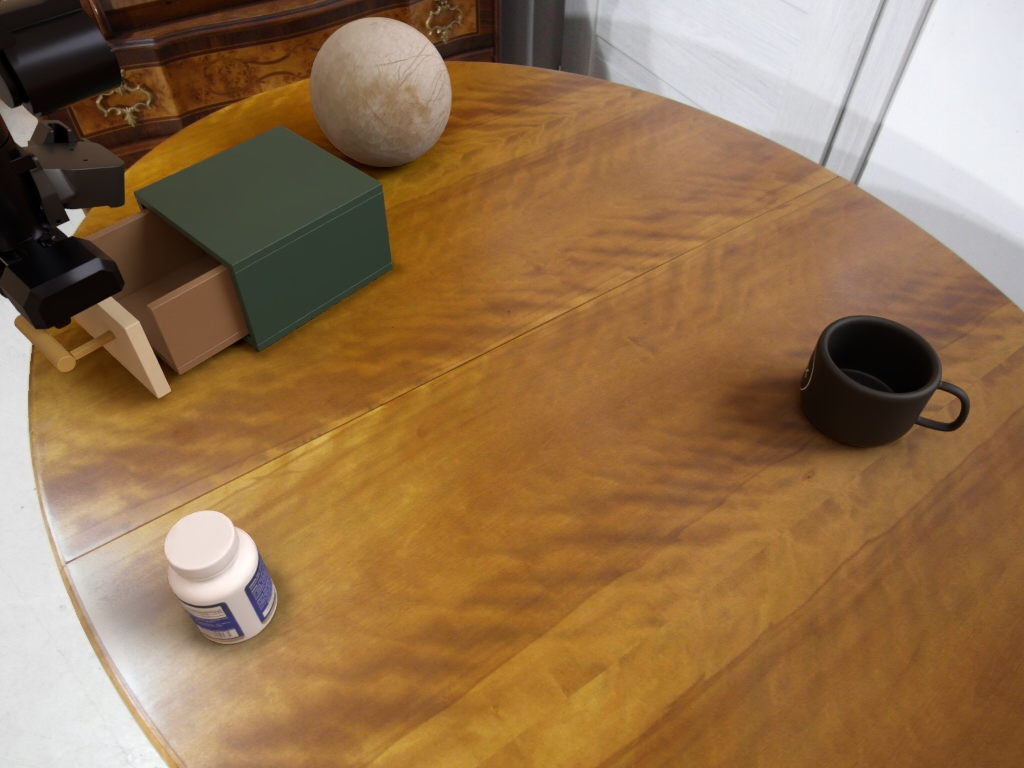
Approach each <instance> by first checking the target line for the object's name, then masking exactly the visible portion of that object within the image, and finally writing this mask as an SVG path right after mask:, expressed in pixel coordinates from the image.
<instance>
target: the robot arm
mask: <svg viewBox="0 0 1024 768" xmlns="http://www.w3.org/2000/svg"><path fill="white" fill-rule="evenodd" d="M122 77H123V76H122V70H121V67H120V63H119V61H118V58H117V55H116V53H115V50H114V49H113V47H112V46H110V45H109V44H108V43H107V40H106V38H105V37H104V35H103V33H102V32H101V30H100V28H99V26H97V24H96V23H95V21H94V20H93V18H92V17H91V16H90V14H89V13H88V12H87V11H86V10H85V9H84V8H83V4H82V2H81V0H1V1H0V100H2V102H3V103H4V104H5V105H6V106H7V107H8V108H10V109H11V110H12V109H17V108H19V107H21V106H22V107H23V108H24V109H25V110H26V111H27V112H28V113H29V114H30V115H31V116H32V117H34V118H37V119H40V118H43V117H45V116H48V115H50V114H53V113H56V112H58V111H60V110H64V109H66V108H69V107H72V106H74V105H77V104H80V103H82V102H85V101H87V100H90V99H92V98H95V97H99V96H101V95H103V94H106V93H108V92H111V91H115V90H117V89H120V88H121V86H122V82H123V78H122ZM79 140H80V141H79ZM79 140H78V139H77V137H76V135H75V134H74V132H73V130H72V129H71V128H70V127H69V126H68V125H66V124H65V123H63V122H62V121H60V120H58V119H45V120H44V119H43V120H38V121H37V124H36V126H35V128H34V130H33V133H32V135H31V137H30V139H29V140H27V145H26V146H21V145H20V144H18V143H17V142H16V140H15V139H14V138H13V135H12V133H11V132H10V129H9V128H8V125H7V124H6V121H5V119H4V118H3V115H2V114H1V113H0V295H1V296H2V297H3V298H5V299H6V300H7V299H8V301H9V302H10V303H11V305H12V306H13V307H14V308H15V311H16V312H18V314H19V315H22V316H23V317H24V318H25V319H26V320H27V321H28V322H29V323H30V324H31V325H32V326H33V327H34V328H35V329H45V330H50V329H52V328H55V329H56V330H61V329H64V328H66V327H68V326H69V325H71V323H72V318H74V316H75V315H77V314H79V313H80V312H82V311H84V310H86V309H88V308H90V307H92V306H94V305H96V304H98V303H100V302H102V301H103V300H105V299H107V298H109V297H111V296H113V295H115V294H117V293H119V292H121V291H122V290H123V287H124V285H125V282H124V279H123V277H122V275H121V273H120V271H119V269H118V266H117V264H116V262H115V261H114V260H113V259H111V258H110V257H109V256H108V255H107V254H105V253H104V252H103V251H102V250H101V249H99V248H98V247H97V246H96V245H95V244H93V243H92V242H91V241H90V240H86V239H82V238H83V237H82V238H81V237H78V236H74V235H70V236H68V235H67V234H66V233H64V232H63V231H62V229H60V228H59V226H62V225H64V224H66V223H68V222H70V221H71V219H70V217H69V215H68V212H67V211H66V210H72V211H73V210H83V209H93V208H101V207H109V208H110V209H113V208H120V207H122V206H124V205H126V185H125V184H126V181H125V180H126V179H125V177H126V175H125V161H124V160H123V159H121V158H120V157H119V156H117V155H116V154H114V152H112V151H110V149H108V148H107V147H105V146H103V145H102V144H100V143H98V142H92V141H91V140H89V139H88V138H86V137H80V139H79Z"/></svg>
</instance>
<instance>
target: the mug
mask: <svg viewBox="0 0 1024 768" xmlns="http://www.w3.org/2000/svg"><path fill="white" fill-rule="evenodd" d="M942 376H943V366H942V362H941V359H940V357H939V355H938V353H937V351H936V350H935V348H934V347H933V346H932V345H931V344H930V342H928V341H927V339H925V338H924V337H923V336H922V335H921V334H919V333H918V332H916V331H915V330H914V329H912V328H910V327H908V326H906V325H904V324H902V323H900V322H897V321H894V320H892V319H889V318H886V317H881V316H875V315H869V314H868V315H866V314H857V315H856V314H855V315H848V316H844V317H840V318H839V319H836V320H834V321H833V322H831V323H829V324H828V325H827V326H826V327H825V328H824V329H823V330H822V332H821V334H820V335H819V336H818V339H817V341H816V344H815V346H814V348H813V351H812V353H811V355H810V357H809V360H808V362H807V364H806V367H805V369H804V371H803V373H802V376H801V379H800V384H799V396H800V401H801V406H802V408H803V410H804V412H805V414H806V416H807V418H808V419H809V421H810V423H812V424H813V425H814V426H815V428H817V429H818V430H820V431H821V432H822V433H824V435H826V436H828V437H830V438H832V439H834V440H836V441H838V442H840V443H843V444H845V445H850V446H854V447H859V448H876V447H881V446H884V445H888V444H891V443H892V442H895V441H897V440H899V439H900V438H902V437H903V436H905V435H906V434H907V433H908V432H910V431H911V429H912V428H913V427H914V425H917V426H920V427H923V428H926V429H930V430H933V431H937V432H943V433H951V432H954V431H957V430H958V429H959V428H961V427H962V426H963V425H964V424H965V422H966V421H967V419H968V418H969V417H968V416H969V414H970V410H971V400H970V398H969V397H970V396H969V395H968V393H967V392H966V391H965V389H963V388H961V387H960V386H958V385H956V384H954V383H951V382H949V381H946V380H945V381H944V380H942V378H943V377H942ZM937 390H939V391H941V392H946V393H947V394H950V395H952V396H953V397H954V396H955V397H956V398H957V399H958V400H959V401H960V411H959V414H958V415H957V417H956V418H955V419H954V420H953V421H951V422H943V421H938V420H934V419H930V418H927V417H924V416H922V415H921V414H922V413H923V410H924V409H925V407H926V406H927V404H928V403H929V401H930V400H931V398H932V397H933V395H934V394H935V393H936V391H937Z"/></svg>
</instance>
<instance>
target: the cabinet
mask: <svg viewBox="0 0 1024 768" xmlns="http://www.w3.org/2000/svg"><path fill="white" fill-rule="evenodd" d="M133 196H134V197H135V200H136V203H137V205H138V207H139V211H142V210H144V209H146V208H148V209H150V210H151V211H152V212H154V213H155V214H156V215H158V216H159V217H160V218H162V219H163V220H164V221H166V222H167V223H168V224H170V225H171V226H172V227H174V228H175V229H176V230H178V231H179V232H180V233H182V234H183V235H184V236H186V237H187V238H188V239H190V240H191V241H192V242H194V243H195V244H196V245H198V246H199V247H200V248H202V249H203V250H204V251H206V252H207V253H208V254H210V255H211V256H212V257H214V258H215V259H216V260H218V261H219V262H220V263H222V264H223V265H224V266H226V267H227V268H228V269H229V271H230V274H231V278H232V281H233V284H234V287H235V290H236V293H237V296H238V299H239V302H240V305H241V308H242V311H243V315H244V318H245V321H246V324H247V327H248V330H249V334H248V335H246V336H244V337H243V338H242V340H244V341H245V342H247V343H248V344H249V345H250V346H252V348H254V349H255V350H256V351H258V352H259V353H260V352H262V351H263V350H265V349H266V348H268V347H269V346H271V345H272V344H274V343H276V342H278V341H279V340H281V339H283V337H285V336H288V334H290V333H292V332H293V331H295V330H296V329H299V328H300V327H301V326H303V325H305V324H306V323H308V322H309V321H311V320H313V319H314V318H317V316H319V315H321V314H322V313H324V312H326V311H327V310H328V309H331V308H332V307H333V306H335V305H337V304H338V303H340V302H342V301H343V300H345V299H346V298H348V297H350V296H351V295H352V294H354V293H356V292H357V291H359V290H360V289H362V288H364V287H365V286H367V285H369V284H370V283H372V282H373V281H375V280H376V279H378V278H380V277H382V276H383V275H384V274H386V273H388V272H390V271H391V270H392V269H394V267H393V259H392V252H391V250H392V249H391V242H390V234H389V227H388V220H387V219H388V218H387V212H386V211H387V210H386V204H385V195H384V188H383V183H382V182H380V181H379V180H377V179H375V178H374V177H372V176H371V175H369V174H366V173H365V172H364V171H361V170H360V169H358V168H357V167H355V166H353V165H351V164H349V163H348V162H347V161H344V160H343V159H341V158H339V157H337V156H336V155H334V154H332V153H331V152H329V151H327V150H325V149H324V148H322V147H320V146H318V145H317V144H315V143H313V142H312V141H310V140H308V139H306V138H305V137H303V136H301V135H299V134H298V133H297V132H294V131H292V130H291V129H289V128H287V126H286V127H285V126H284V125H283V124H280V125H278V126H275V127H273V128H271V129H269V130H267V131H264V132H262V133H260V134H257V135H256V136H252V137H251V138H249V139H247V140H245V141H242V142H240V143H237V144H236V145H233V146H231V147H229V148H227V149H225V150H223V151H220V152H218V153H216V154H213V155H212V156H210V157H207V158H205V159H203V160H200V161H198V162H196V163H194V164H192V165H190V166H187V167H185V168H183V169H181V170H178V171H176V172H174V173H172V174H169V175H167V176H166V177H163V178H161V179H159V180H157V181H154V182H152V183H150V184H147V185H146V186H143V187H141V188H138V189H137V190H134V191H133Z"/></svg>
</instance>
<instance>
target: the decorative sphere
mask: <svg viewBox="0 0 1024 768" xmlns="http://www.w3.org/2000/svg"><path fill="white" fill-rule="evenodd" d="M451 83H452V82H451V78H450V74H449V72H448V68H447V65H446V62H445V61H444V59H443V57H442V56H441V54H440V52H439V50H438V49H437V48H436V46H435V45H434V44H433V43H432V42H431V41H430V39H428V38H427V37H426V35H424V34H423V33H422V32H420V31H419V30H418V29H416V28H415V27H413V26H411V25H409V24H407V23H405V22H403V21H400V20H397V19H393V18H389V17H382V16H374V17H373V16H371V17H364V18H359V19H356V20H353V21H350V22H348V23H347V24H344V25H343V26H341V27H340V28H338V29H337V30H336V31H334V32H333V33H332V34H331V35H330V36H329V37H328V38H327V39H326V41H324V43H323V44H322V46H321V47H320V49H319V50H318V52H317V54H316V56H315V59H314V61H313V63H312V68H311V71H310V77H309V97H310V98H309V100H310V105H311V108H312V112H313V115H314V118H315V120H316V122H317V124H318V127H319V128H320V130H321V131H322V133H323V135H324V136H325V137H326V138H327V140H328V141H329V142H330V144H332V145H333V146H334V148H336V149H337V150H339V152H341V153H342V154H344V155H345V156H347V157H348V158H351V159H352V160H354V161H356V162H358V163H361V164H364V165H367V166H371V167H379V168H390V167H391V168H392V167H397V166H402V165H405V164H408V163H411V162H413V161H415V160H417V159H418V158H420V157H422V156H423V155H425V154H426V153H427V152H428V151H430V149H431V148H433V147H434V146H435V144H436V143H437V142H438V140H439V139H440V138H441V136H442V135H443V133H444V131H445V128H446V126H447V123H448V121H449V118H450V116H451V115H450V114H451V111H452V110H451V109H452V102H453V101H452V99H453V95H452V84H451Z"/></svg>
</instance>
